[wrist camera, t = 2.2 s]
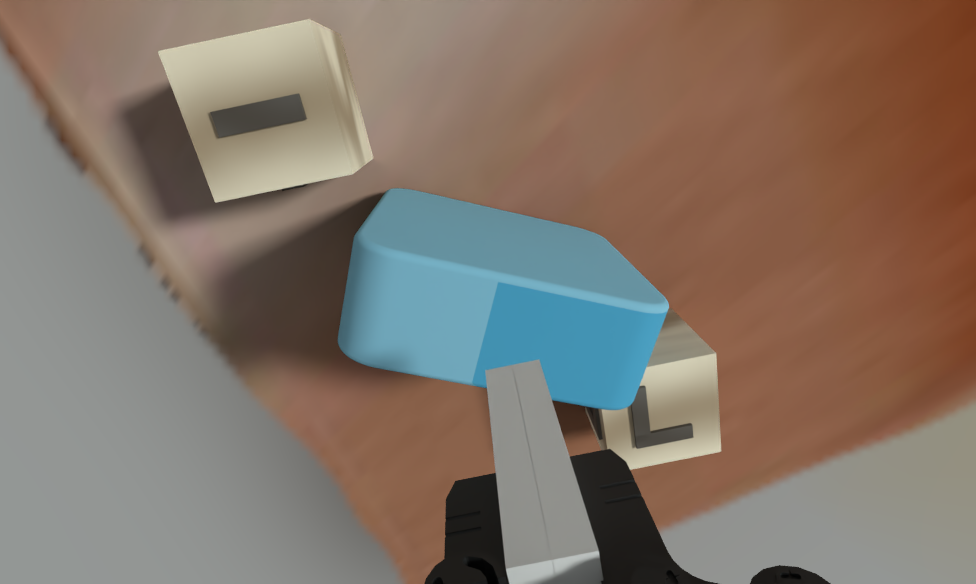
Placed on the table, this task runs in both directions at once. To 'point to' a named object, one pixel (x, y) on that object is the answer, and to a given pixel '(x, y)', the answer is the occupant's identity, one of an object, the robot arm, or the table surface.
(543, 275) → the data package
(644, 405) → the maple block seven
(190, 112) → the maple block one
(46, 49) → the table surface
